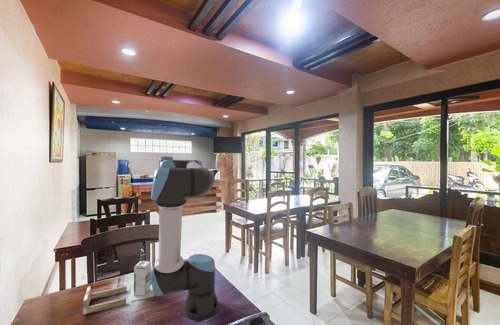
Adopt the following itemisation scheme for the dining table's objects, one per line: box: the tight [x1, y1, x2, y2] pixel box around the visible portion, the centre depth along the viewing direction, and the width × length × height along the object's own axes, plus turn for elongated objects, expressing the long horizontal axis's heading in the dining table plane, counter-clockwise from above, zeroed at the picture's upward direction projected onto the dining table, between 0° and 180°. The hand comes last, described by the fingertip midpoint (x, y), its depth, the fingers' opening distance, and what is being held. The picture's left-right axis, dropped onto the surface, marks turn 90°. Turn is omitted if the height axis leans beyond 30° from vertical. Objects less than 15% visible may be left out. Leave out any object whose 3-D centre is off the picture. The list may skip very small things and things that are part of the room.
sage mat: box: [130, 284, 155, 303], centre depth 116 cm, size 11×10×1 cm
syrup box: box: [133, 260, 152, 296], centre depth 116 cm, size 6×6×14 cm
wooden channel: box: [82, 285, 127, 315], centre depth 109 cm, size 12×16×6 cm
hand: (165, 219), depth 135 cm, fingers open, 13 cm apart
